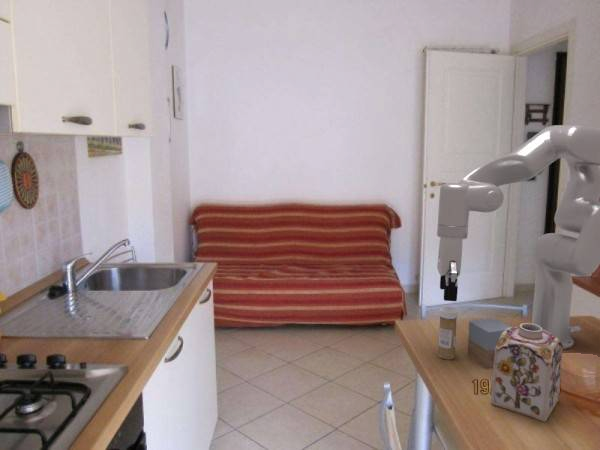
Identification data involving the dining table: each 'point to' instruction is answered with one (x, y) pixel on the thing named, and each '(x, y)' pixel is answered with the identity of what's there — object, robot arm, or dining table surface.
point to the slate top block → (486, 332)
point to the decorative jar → (527, 371)
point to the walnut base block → (481, 354)
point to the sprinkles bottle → (447, 333)
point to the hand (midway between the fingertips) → (447, 294)
